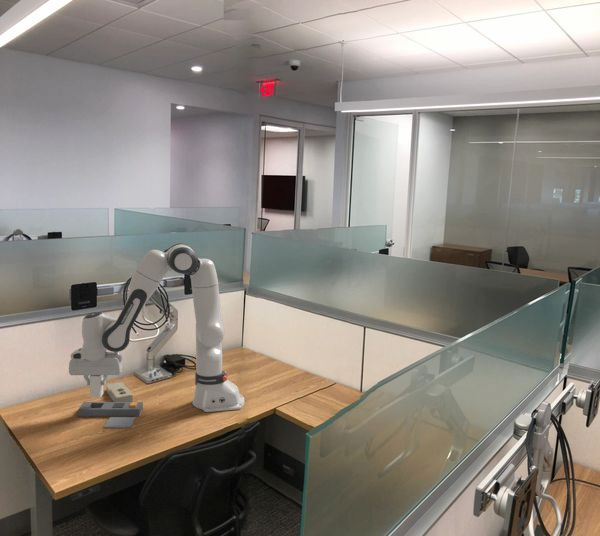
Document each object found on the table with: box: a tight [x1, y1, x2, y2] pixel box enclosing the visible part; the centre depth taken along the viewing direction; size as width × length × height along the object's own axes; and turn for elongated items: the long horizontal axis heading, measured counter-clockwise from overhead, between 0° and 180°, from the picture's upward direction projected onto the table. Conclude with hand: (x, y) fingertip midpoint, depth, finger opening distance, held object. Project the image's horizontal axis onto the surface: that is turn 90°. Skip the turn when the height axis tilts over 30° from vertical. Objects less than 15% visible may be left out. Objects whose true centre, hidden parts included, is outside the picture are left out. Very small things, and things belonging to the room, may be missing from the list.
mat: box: [103, 416, 136, 429], centre depth 203 cm, size 10×8×1 cm
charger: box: [88, 375, 104, 399], centre depth 209 cm, size 4×4×11 cm
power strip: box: [77, 401, 144, 417], centre depth 211 cm, size 24×7×4 cm, turn 95°
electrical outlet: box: [105, 381, 134, 402], centre depth 227 cm, size 7×4×18 cm
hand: (96, 384), depth 209 cm, fingers closed on charger, 4 cm apart
